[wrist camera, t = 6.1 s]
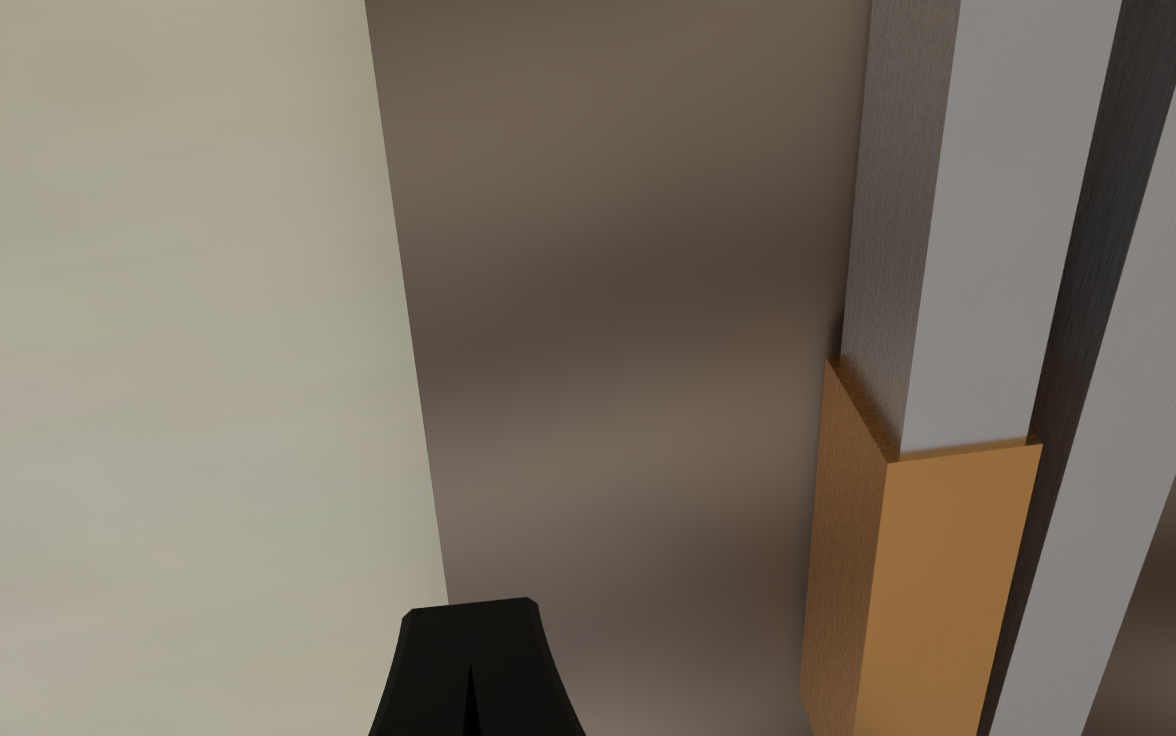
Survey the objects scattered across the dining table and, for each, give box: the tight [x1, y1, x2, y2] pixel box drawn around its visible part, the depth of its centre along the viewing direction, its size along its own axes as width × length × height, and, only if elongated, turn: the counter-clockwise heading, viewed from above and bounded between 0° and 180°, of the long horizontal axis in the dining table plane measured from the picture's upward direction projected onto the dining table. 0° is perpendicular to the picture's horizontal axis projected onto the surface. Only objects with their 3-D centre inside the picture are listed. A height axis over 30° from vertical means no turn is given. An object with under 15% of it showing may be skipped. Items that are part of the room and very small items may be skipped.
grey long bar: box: [976, 0, 1176, 736], centre depth 14 cm, size 22×2×2 cm, turn 1°
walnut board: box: [365, 0, 1176, 736], centre depth 17 cm, size 28×18×1 cm, turn 1°
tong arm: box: [799, 0, 1122, 736], centre depth 15 cm, size 26×4×3 cm, turn 3°
